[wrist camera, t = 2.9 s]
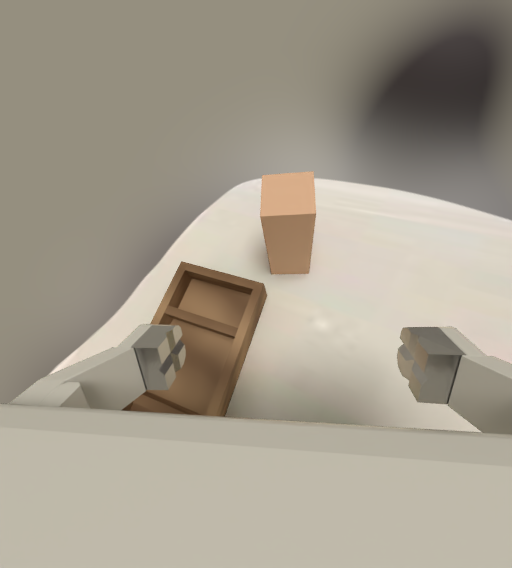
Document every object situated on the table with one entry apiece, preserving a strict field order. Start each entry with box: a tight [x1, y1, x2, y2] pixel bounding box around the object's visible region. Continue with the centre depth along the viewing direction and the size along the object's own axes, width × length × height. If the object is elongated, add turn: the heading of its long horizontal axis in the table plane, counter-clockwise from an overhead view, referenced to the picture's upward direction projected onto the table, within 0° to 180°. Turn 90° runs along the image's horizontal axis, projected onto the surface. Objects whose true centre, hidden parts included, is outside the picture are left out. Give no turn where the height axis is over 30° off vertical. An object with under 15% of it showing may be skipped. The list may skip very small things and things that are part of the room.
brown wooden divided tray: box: [122, 261, 267, 417], centre depth 24 cm, size 18×9×3 cm, turn 161°
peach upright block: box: [260, 171, 316, 274], centre depth 24 cm, size 4×4×10 cm
